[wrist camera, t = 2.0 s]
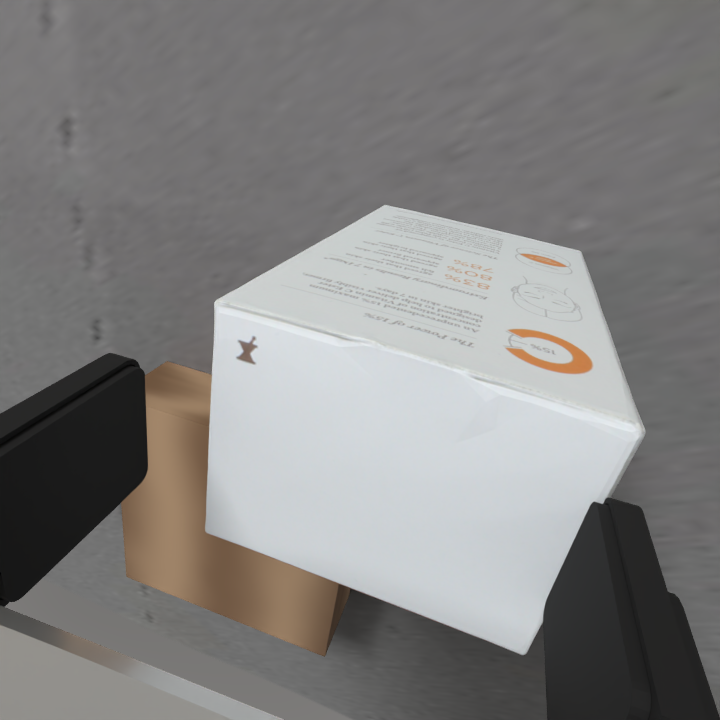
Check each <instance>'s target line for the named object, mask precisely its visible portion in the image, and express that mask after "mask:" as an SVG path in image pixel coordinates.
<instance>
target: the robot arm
mask: <svg viewBox="0 0 720 720" xmlns="http://www.w3.org/2000/svg"><path fill="white" fill-rule="evenodd" d="M147 471H148V448H147V421H146V393H145V374H144V371H143V370H142V369H141V368H140V366H139V364H138V362H137V361H136V360H134V359H130V358H127V357H124V356H120V355H117V354H113V353H108V354H106V355H104V356H102V357H100V358H98V359H97V360H95V361H93V362H91V363H89V364H88V365H86V366H84V367H82V368H81V369H79V370H77V371H75V372H74V373H72V374H70V375H68V376H66V377H65V378H63V379H61V380H59V381H58V382H56V383H54V384H52V385H51V386H49V387H47V388H45V389H43V390H42V391H40V392H38V393H36V394H35V395H33V396H31V397H29V398H28V399H26V400H24V401H22V402H20V403H19V404H17V405H15V406H13V407H12V408H10V409H8V410H6V411H5V412H3V413H1V414H0V720H283V719H281V718H279V717H276V716H273V715H271V714H269V713H266V712H264V711H261V710H259V709H256V708H254V707H252V706H249V705H246V704H244V703H242V702H239V701H237V700H234V699H232V698H229V697H227V696H224V695H222V694H219V693H217V692H215V691H212V690H210V689H207V688H205V687H202V686H200V685H197V684H195V683H192V682H190V681H187V680H185V679H182V678H180V677H178V676H175V675H173V674H170V673H168V672H165V671H163V670H160V669H158V668H155V667H153V666H150V665H148V664H145V663H143V662H140V661H138V660H135V659H133V658H130V657H128V656H125V655H123V654H120V653H118V652H116V651H113V650H111V649H108V648H106V647H103V646H101V645H98V644H96V643H93V642H91V641H88V640H86V639H83V638H80V637H78V636H76V635H73V634H70V633H68V632H65V631H63V630H61V629H58V628H55V627H53V626H50V625H48V624H45V623H43V622H40V621H38V620H35V619H33V618H30V617H28V616H25V615H23V614H20V613H18V612H15V611H13V610H10V609H8V608H5V606H6V605H7V604H8V603H9V602H15V601H17V600H19V599H20V598H22V597H23V596H24V595H25V594H26V593H27V592H28V591H29V590H30V589H31V588H32V587H33V586H34V585H35V584H36V583H38V582H39V581H40V580H41V579H42V578H43V577H44V576H45V575H46V574H47V573H48V572H49V571H50V570H51V569H52V568H53V567H54V566H55V565H56V564H57V563H58V562H59V561H61V560H62V559H63V558H64V557H65V556H66V555H67V554H68V553H69V552H70V551H71V550H72V549H73V548H74V547H75V546H76V545H77V544H78V543H79V542H80V541H81V540H82V539H83V538H85V537H86V536H87V535H88V534H89V533H90V532H91V531H92V530H93V529H94V528H95V527H96V526H97V525H98V524H99V523H100V522H101V521H102V520H103V519H104V518H105V517H106V516H107V515H109V514H110V513H111V512H112V511H113V510H114V509H115V508H116V507H117V506H118V505H119V504H120V503H121V502H122V501H123V500H124V499H125V498H126V497H127V496H128V495H129V494H130V493H131V492H133V491H134V490H135V489H136V488H137V487H138V486H139V485H140V484H141V483H142V481H143V480H144V478H145V476H146V474H147ZM543 626H544V650H545V673H546V697H547V720H720V717H719V714H718V711H717V708H716V705H715V702H714V699H713V696H712V693H711V690H710V687H709V684H708V681H707V678H706V675H705V672H704V669H703V666H702V663H701V660H700V657H699V654H698V651H697V648H696V645H695V642H694V639H693V636H692V633H691V630H690V627H689V624H688V620H687V617H686V614H685V611H684V608H683V606H682V604H681V602H680V600H679V598H678V597H677V596H676V595H675V594H673V593H669V592H668V591H667V588H666V585H665V581H664V578H663V575H662V572H661V568H660V565H659V562H658V559H657V555H656V552H655V549H654V546H653V543H652V539H651V536H650V533H649V530H648V526H647V523H646V520H645V517H644V513H643V511H642V509H641V508H640V507H639V506H636V505H633V504H629V503H626V502H622V501H619V500H615V499H612V498H609V497H608V498H606V499H605V501H604V503H603V504H601V503H598V502H593V503H592V504H591V505H590V507H589V509H588V511H587V513H586V515H585V517H584V520H583V522H582V524H581V526H580V528H579V530H578V533H577V535H576V537H575V539H574V541H573V543H572V545H571V548H570V550H569V552H568V554H567V556H566V558H565V561H564V563H563V565H562V567H561V569H560V571H559V573H558V576H557V578H556V580H555V582H554V584H553V586H552V589H551V591H550V593H549V595H548V597H547V600H546V603H545V607H544V614H543Z"/></svg>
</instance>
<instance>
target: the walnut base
mask: <svg viewBox="0 0 720 720" xmlns="http://www.w3.org/2000/svg"><path fill="white" fill-rule="evenodd" d="M211 382H212V375H211V374H207V373H204V372H201V371H197V370H194V369H191V368H188V367H184V366H181V365H178V364H174V363H171V362H168V361H167V362H165V363H164V364H162V365H160V366H159V367H157V368H156V369H154V370H153V371H151V372H150V373H148V374H147V375H145V393H146V421H147V448H148V471H147V474H146V476H145V478H144V480H143V481H142V483H141V484H140V485H139V486H138V487H137V488H136V489H135V490H134V491H133V492H131V493H130V494H129V495H128V496H127V497H126V498H125V499H124V500H123V501H122V502H121V506H122V520H123V534H124V548H125V562H126V576H127V577H128V578H131V579H133V580H136V581H138V582H141V583H143V584H146V585H148V586H151V587H153V588H156V589H158V590H161V591H163V592H166V593H168V594H171V595H173V596H176V597H178V598H180V599H183V600H185V601H188V602H190V603H193V604H195V605H198V606H200V607H203V608H205V609H208V610H210V611H213V612H215V613H218V614H220V615H223V616H225V617H227V618H230V619H232V620H235V621H237V622H240V623H242V624H245V625H247V626H250V627H252V628H255V629H257V630H260V631H262V632H265V633H267V634H270V635H272V636H275V637H277V638H279V639H282V640H284V641H287V642H289V643H292V644H294V645H297V646H299V647H302V648H304V649H307V650H309V651H312V652H314V653H317V654H319V655H322V656H324V657H325V655H326V652H327V650H328V647H329V645H330V642H331V640H332V637H333V635H334V632H335V630H336V627H337V625H338V622H339V620H340V617H341V615H342V612H343V610H344V607H345V605H346V602H347V600H348V597H349V593H350V588H348V587H346V586H343V585H341V584H338V583H335V582H333V581H330V580H328V579H325V578H322V577H320V576H317V575H315V574H312V573H309V572H307V571H304V570H302V569H299V568H297V567H294V566H292V565H289V564H286V563H284V562H281V561H279V560H276V559H273V558H271V557H268V556H265V555H263V554H260V553H258V552H255V551H252V550H250V549H247V548H245V547H242V546H240V545H237V544H234V543H232V542H229V541H226V540H223V539H221V538H218V537H215V536H212V535H210V534H208V533H206V531H205V523H206V496H207V475H208V449H209V424H210V404H211Z"/></svg>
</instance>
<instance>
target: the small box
mask: <svg viewBox="0 0 720 720" xmlns="http://www.w3.org/2000/svg"><path fill="white" fill-rule="evenodd" d="M644 435H645V428H644V426H643V423H642V421H641V418H640V416H639V413H638V411H637V408H636V406H635V403H634V401H633V398H632V395H631V392H630V389H629V386H628V384H627V381H626V378H625V375H624V372H623V369H622V367H621V364H620V361H619V358H618V355H617V352H616V349H615V346H614V343H613V340H612V337H611V334H610V331H609V328H608V326H607V323H606V320H605V318H604V315H603V312H602V310H601V307H600V303H599V300H598V297H597V293H596V291H595V288H594V285H593V282H592V280H591V277H590V274H589V271H588V268H587V266H586V263H585V260H584V258H583V255H582V253H581V251H578V250H574V249H570V248H566V247H562V246H558V245H554V244H550V243H546V242H542V241H538V240H534V239H530V238H526V237H522V236H518V235H513V234H509V233H505V232H501V231H497V230H493V229H488V228H484V227H480V226H475V225H471V224H467V223H462V222H458V221H454V220H450V219H445V218H441V217H437V216H433V215H428V214H424V213H420V212H415V211H411V210H406V209H402V208H397V207H392V206H388V205H384V206H382V207H381V208H379V209H377V210H375V211H374V212H372V213H370V214H368V215H367V216H365V217H363V218H361V219H360V220H358V221H356V222H354V223H353V224H351V225H349V226H347V227H346V228H344V229H342V230H340V231H338V232H337V233H335V234H333V235H331V236H330V237H328V238H326V239H324V240H322V241H321V242H319V243H317V244H315V245H314V246H312V247H310V248H308V249H307V250H305V251H303V252H301V253H299V254H298V255H296V256H294V257H292V258H291V259H289V260H287V261H285V262H283V263H282V264H280V265H278V266H276V267H275V268H273V269H271V270H269V271H267V272H266V273H264V274H262V275H260V276H258V277H257V278H255V279H253V280H251V281H250V282H248V283H246V284H245V285H243V286H241V287H239V288H238V289H236V290H234V291H232V292H230V293H228V294H226V295H225V296H223V297H221V298H219V299H217V300H216V302H215V303H214V349H213V365H212V382H211V404H210V424H209V449H208V475H207V496H206V523H205V531H206V533H208V534H210V535H212V536H215V537H218V538H221V539H223V540H226V541H229V542H232V543H234V544H237V545H240V546H242V547H245V548H247V549H250V550H252V551H255V552H258V553H260V554H263V555H265V556H268V557H271V558H273V559H276V560H279V561H281V562H284V563H286V564H289V565H292V566H294V567H297V568H299V569H302V570H304V571H307V572H309V573H312V574H315V575H317V576H320V577H322V578H325V579H328V580H330V581H333V582H335V583H338V584H341V585H343V586H346V587H348V588H351V589H354V590H356V591H359V592H361V593H364V594H367V595H369V596H372V597H374V598H377V599H380V600H382V601H385V602H387V603H390V604H393V605H395V606H398V607H400V608H403V609H406V610H408V611H411V612H413V613H416V614H418V615H421V616H423V617H426V618H429V619H431V620H434V621H436V622H439V623H441V624H444V625H447V626H449V627H452V628H454V629H457V630H460V631H462V632H465V633H467V634H470V635H473V636H475V637H478V638H481V639H483V640H486V641H488V642H491V643H493V644H496V645H498V646H501V647H503V648H506V649H508V650H511V651H513V652H516V653H518V654H520V655H524V654H526V653H527V651H528V649H529V647H530V645H531V643H532V641H533V639H534V637H535V636H536V634H537V632H538V630H539V628H540V626H541V624H542V623H543V614H544V607H545V603H546V600H547V597H548V595H549V593H550V591H551V589H552V586H553V584H554V582H555V580H556V578H557V576H558V573H559V571H560V569H561V567H562V565H563V563H564V561H565V558H566V556H567V554H568V552H569V550H570V548H571V545H572V543H573V541H574V539H575V537H576V535H577V533H578V530H579V528H580V526H581V524H582V522H583V520H584V517H585V515H586V513H587V511H588V509H589V507H590V505H591V504H592V503H593V502H598V503H601V504H603V503H604V501H605V499H606V498H608V497H609V498H611V496H612V494H613V492H614V490H615V489H616V487H617V485H618V483H619V481H620V479H621V478H622V476H623V474H624V472H625V470H626V469H627V467H628V465H629V463H630V461H631V459H632V458H633V456H634V454H635V452H636V450H637V449H638V447H639V445H640V443H641V441H642V440H643V438H644Z"/></svg>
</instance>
